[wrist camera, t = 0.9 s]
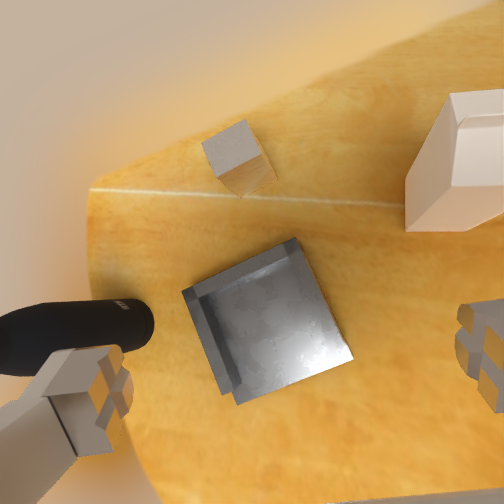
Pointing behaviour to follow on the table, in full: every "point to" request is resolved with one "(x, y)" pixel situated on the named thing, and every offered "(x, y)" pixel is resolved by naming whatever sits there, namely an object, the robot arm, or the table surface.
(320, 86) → the table surface
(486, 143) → the milk
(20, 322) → the black water bottle
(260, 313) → the bracket
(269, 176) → the block
